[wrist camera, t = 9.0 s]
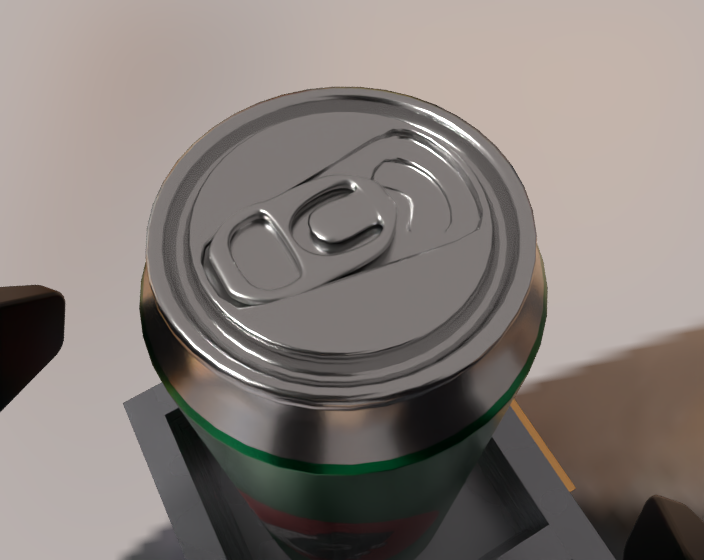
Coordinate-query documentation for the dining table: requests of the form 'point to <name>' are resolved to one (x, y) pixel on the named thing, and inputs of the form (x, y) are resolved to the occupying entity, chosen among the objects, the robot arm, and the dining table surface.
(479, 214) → the soda can
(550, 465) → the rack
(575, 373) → the dining table surface
